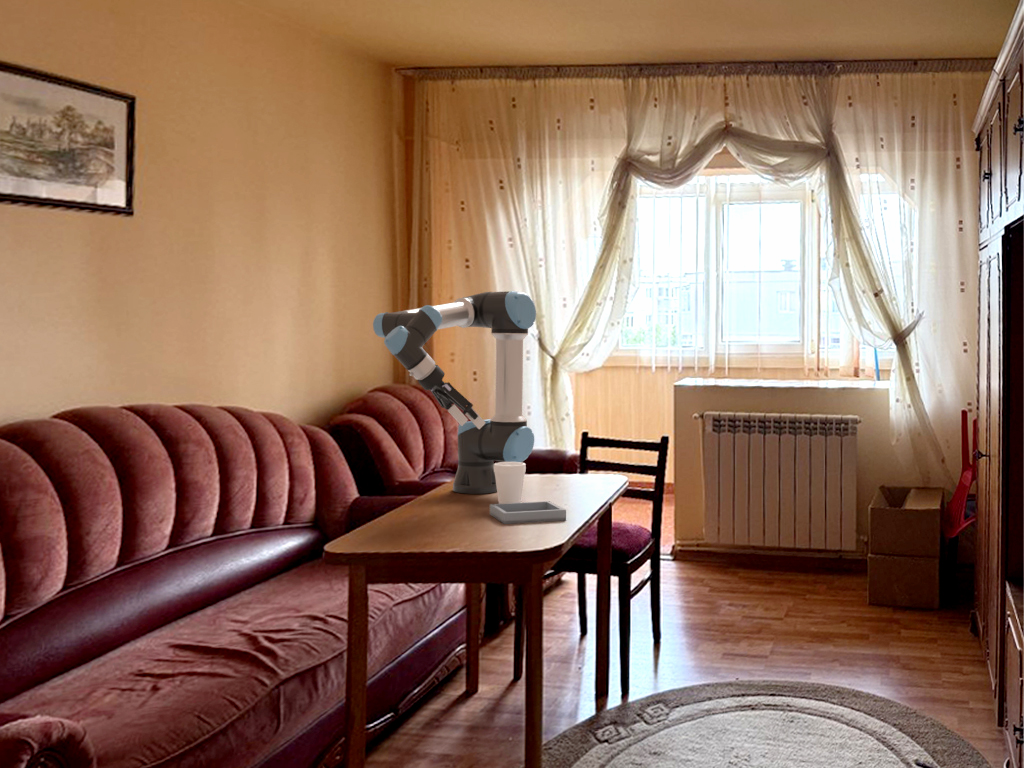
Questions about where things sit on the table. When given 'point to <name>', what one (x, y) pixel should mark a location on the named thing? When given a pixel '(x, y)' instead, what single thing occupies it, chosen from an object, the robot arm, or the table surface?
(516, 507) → the tray
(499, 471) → the foam cup
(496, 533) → the table surface
